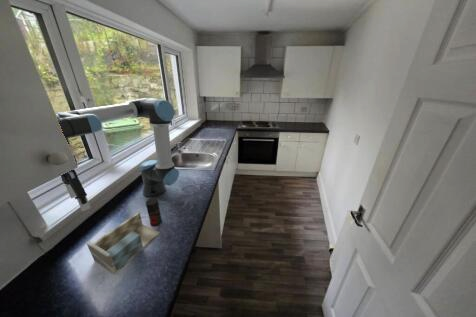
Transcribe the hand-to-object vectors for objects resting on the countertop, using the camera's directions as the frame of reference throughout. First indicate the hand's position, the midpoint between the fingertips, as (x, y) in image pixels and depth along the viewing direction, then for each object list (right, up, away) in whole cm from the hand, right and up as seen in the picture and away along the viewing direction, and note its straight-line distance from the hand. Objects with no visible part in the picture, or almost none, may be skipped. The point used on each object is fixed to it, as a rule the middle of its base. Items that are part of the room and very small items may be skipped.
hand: (80, 202), depth 74 cm
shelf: (+13, -24, +12) cm, 30 cm away
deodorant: (+20, -18, +27) cm, 38 cm away
